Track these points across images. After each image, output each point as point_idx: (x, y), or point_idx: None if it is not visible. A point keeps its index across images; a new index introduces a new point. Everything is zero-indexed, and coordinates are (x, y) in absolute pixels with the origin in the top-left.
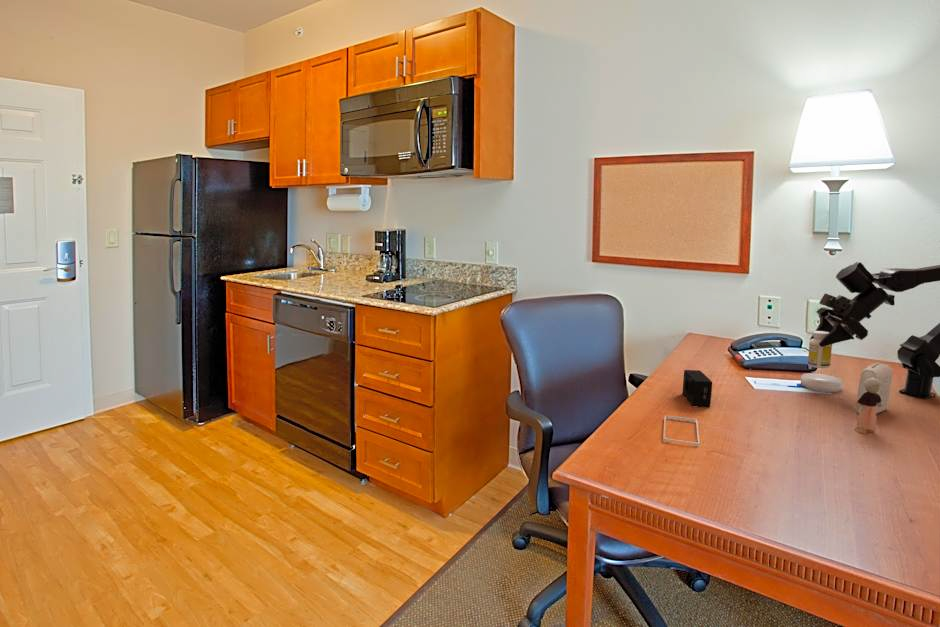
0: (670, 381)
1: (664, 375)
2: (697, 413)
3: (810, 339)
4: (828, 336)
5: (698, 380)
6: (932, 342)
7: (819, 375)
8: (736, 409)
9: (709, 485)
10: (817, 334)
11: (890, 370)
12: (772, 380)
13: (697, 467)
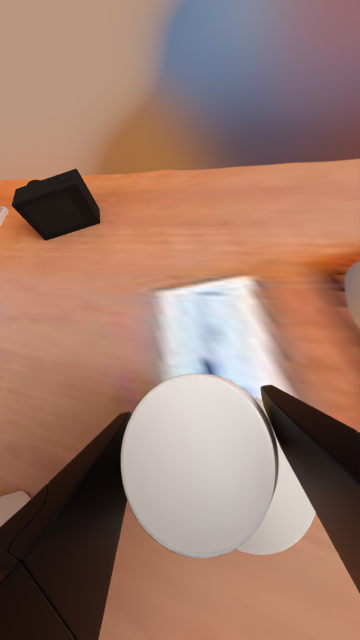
0: (157, 187)
1: (189, 176)
2: (23, 231)
3: (262, 386)
4: (56, 477)
5: (19, 191)
6: None
7: (287, 467)
8: (38, 268)
9: None
10: (145, 398)
11: None
12: (247, 330)
13: None
